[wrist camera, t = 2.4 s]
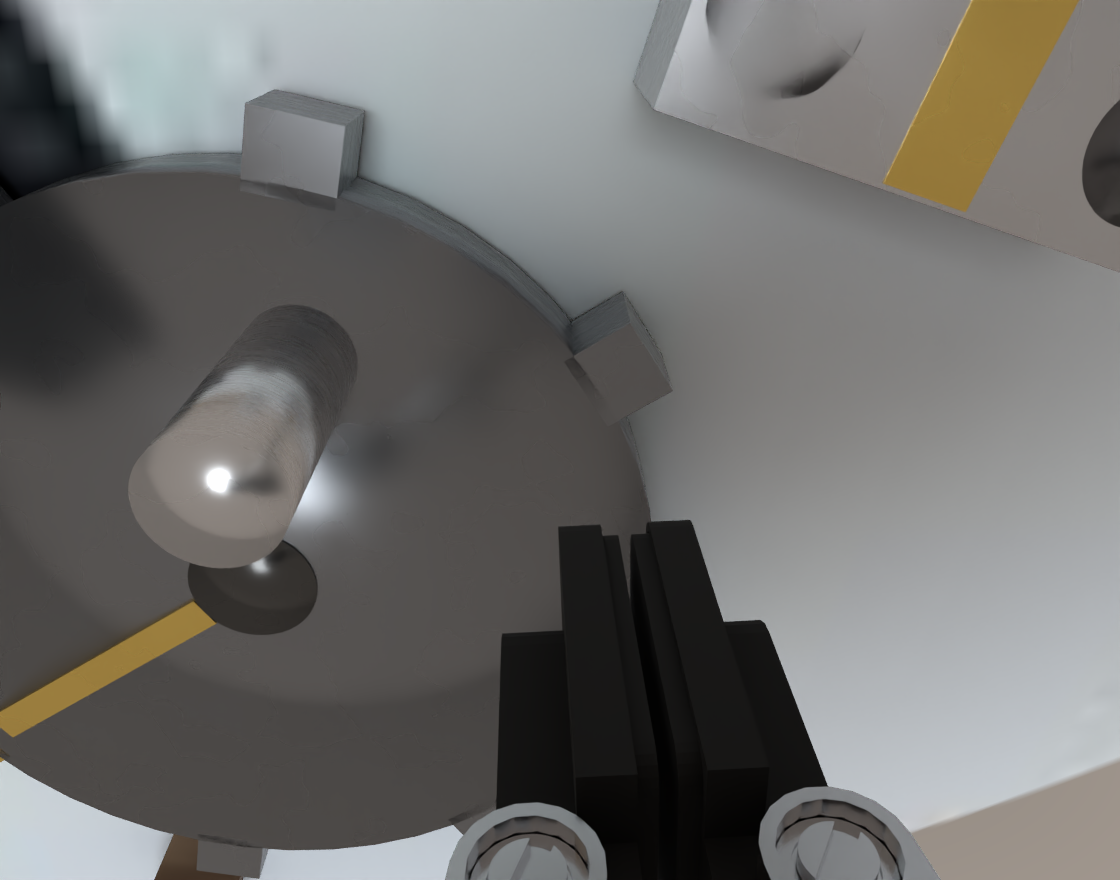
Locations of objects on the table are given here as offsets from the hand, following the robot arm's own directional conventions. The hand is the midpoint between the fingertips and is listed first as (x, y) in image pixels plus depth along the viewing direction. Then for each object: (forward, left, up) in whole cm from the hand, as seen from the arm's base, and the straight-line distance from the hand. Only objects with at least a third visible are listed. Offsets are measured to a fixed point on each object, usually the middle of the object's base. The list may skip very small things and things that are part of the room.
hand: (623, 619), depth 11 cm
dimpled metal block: (-4, -7, -11) cm, 14 cm away
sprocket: (+6, +8, -11) cm, 14 cm away
